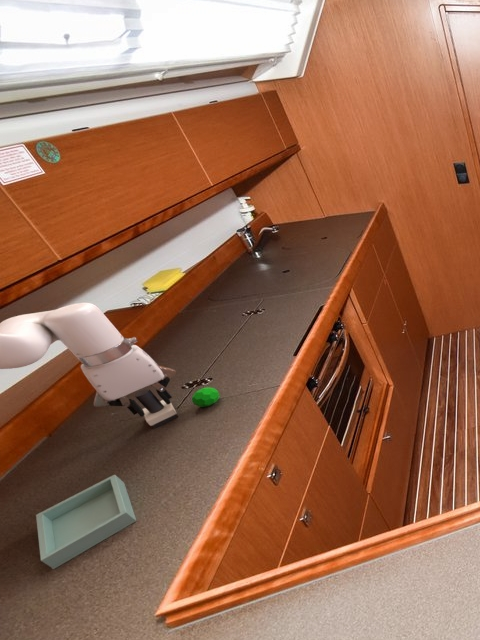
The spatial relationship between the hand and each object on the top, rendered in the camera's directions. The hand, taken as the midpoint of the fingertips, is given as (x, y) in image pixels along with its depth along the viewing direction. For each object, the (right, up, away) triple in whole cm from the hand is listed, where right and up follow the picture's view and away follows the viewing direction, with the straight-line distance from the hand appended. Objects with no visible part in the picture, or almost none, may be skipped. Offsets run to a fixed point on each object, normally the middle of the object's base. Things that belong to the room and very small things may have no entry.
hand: (154, 406), depth 103 cm
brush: (0, -3, +2) cm, 4 cm away
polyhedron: (+8, -1, +6) cm, 10 cm away
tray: (+13, -17, -22) cm, 30 cm away
